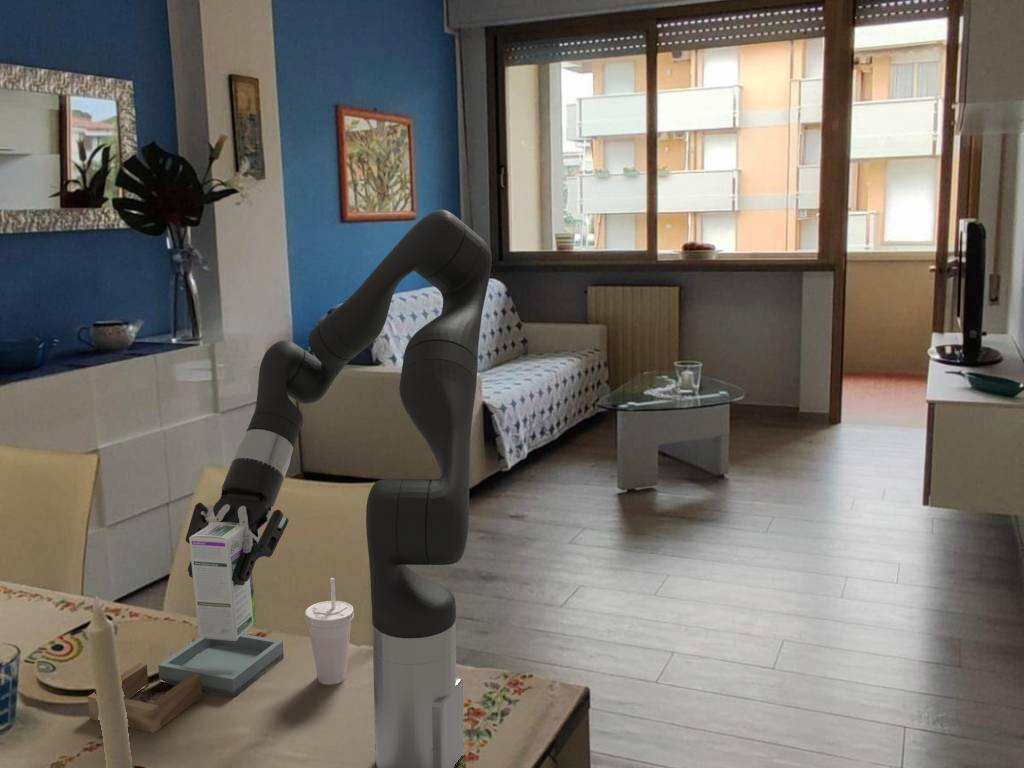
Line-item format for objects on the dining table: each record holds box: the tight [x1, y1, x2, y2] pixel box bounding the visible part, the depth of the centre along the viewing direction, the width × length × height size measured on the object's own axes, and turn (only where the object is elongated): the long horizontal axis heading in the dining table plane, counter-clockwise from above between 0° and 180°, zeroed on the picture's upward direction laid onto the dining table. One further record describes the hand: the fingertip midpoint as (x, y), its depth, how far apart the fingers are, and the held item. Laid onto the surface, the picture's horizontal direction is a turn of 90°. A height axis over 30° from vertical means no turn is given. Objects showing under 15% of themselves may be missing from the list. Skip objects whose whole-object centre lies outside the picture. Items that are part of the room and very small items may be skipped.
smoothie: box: [304, 577, 355, 686], centre depth 128 cm, size 6×6×14 cm
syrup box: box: [189, 522, 257, 641], centre depth 130 cm, size 6×6×14 cm
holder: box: [87, 662, 203, 734], centre depth 122 cm, size 10×9×3 cm
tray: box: [157, 633, 285, 698], centre depth 131 cm, size 12×12×2 cm
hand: (215, 580), depth 128 cm, fingers closed on syrup box, 6 cm apart
